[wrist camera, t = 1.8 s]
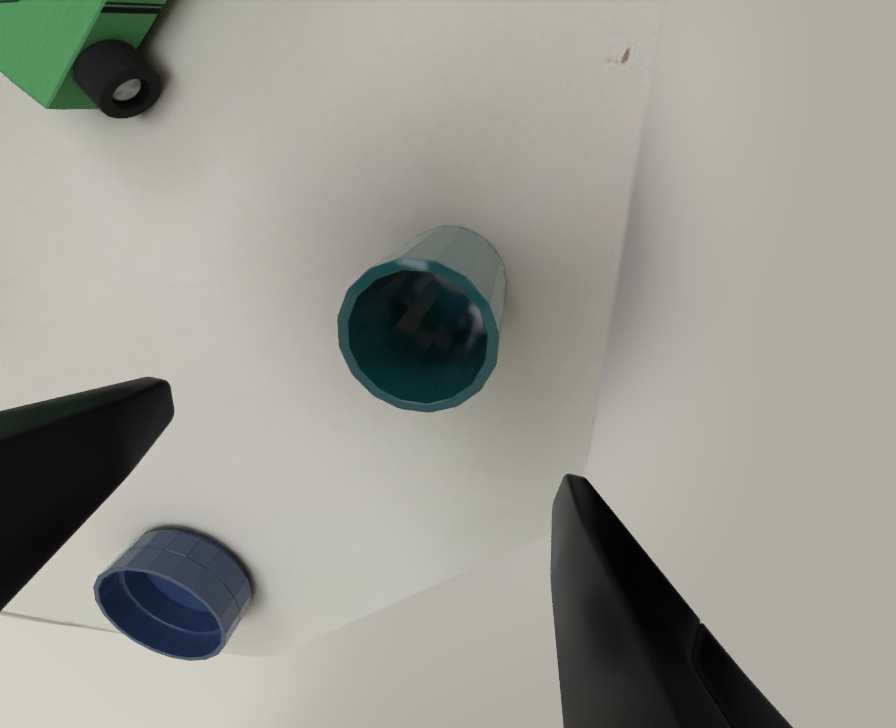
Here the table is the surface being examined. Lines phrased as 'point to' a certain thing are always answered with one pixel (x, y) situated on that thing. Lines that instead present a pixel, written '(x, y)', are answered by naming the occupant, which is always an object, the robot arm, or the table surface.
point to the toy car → (80, 53)
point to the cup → (426, 320)
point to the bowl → (175, 594)
